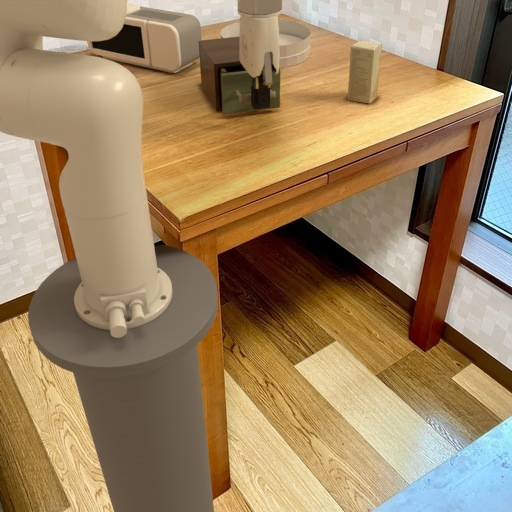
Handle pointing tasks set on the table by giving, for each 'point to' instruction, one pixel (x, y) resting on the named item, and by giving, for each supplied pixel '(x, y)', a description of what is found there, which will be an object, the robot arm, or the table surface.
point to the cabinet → (216, 64)
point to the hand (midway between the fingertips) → (260, 106)
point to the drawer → (242, 90)
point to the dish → (283, 41)
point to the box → (364, 71)
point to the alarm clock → (153, 40)
